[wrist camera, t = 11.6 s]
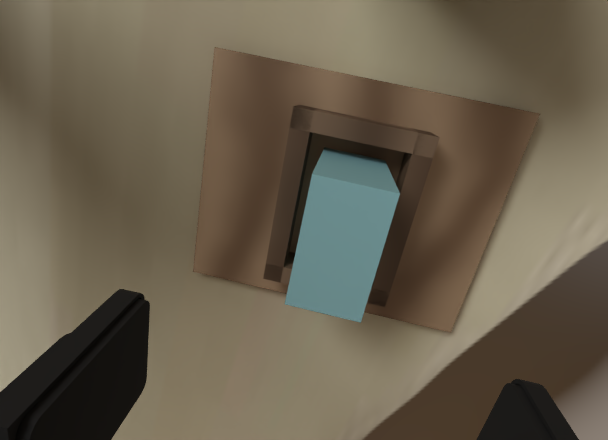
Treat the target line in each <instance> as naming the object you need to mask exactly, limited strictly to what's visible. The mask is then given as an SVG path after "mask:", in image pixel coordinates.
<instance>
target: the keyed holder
mask: <svg viewBox="0 0 608 440" xmlns="http://www.w3.org/2000/svg"><path fill="white" fill-rule="evenodd" d="M539 116H540V114H538V113H533V112H529V111H524V110H519V109H514V108H509V107H504V106H499V105H494V104H490V103H485V102H480V101H475V100H470V99H465V98H460V97H455V96H451V95H446V94H441V93H436V92H431V91H426V90H421V89H416V88H412V87H407V86H402V85H397V84H392V83H387V82H382V81H377V80H373V79H368V78H363V77H358V76H353V75H348V74H343V73H338V72H333V71H329V70H324V69H319V68H314V67H309V66H304V65H299V64H294V63H290V62H285V61H280V60H275V59H270V58H265V57H260V56H255V55H251V54H246V53H241V52H236V51H231V50H226V49H221V48H216V47H215V49H214V60H213V70H212V81H211V91H210V102H209V112H208V123H207V133H206V143H205V154H204V164H203V175H202V185H201V196H200V206H199V217H198V227H197V238H196V248H195V259H194V269H193V272H198V273H202V274H206V275H210V276H215V277H219V278H223V279H227V280H231V281H236V282H240V283H244V284H248V285H253V286H257V287H261V288H265V289H269V290H274V291H278V292H282V293H286V294H287V291H288V286H289V281H290V277H291V272H292V267H293V262H294V258H295V253H296V248H297V243H298V239H299V234H300V229H301V224H302V220H303V215H304V210H305V205H306V201H307V196H308V191H309V186H310V182H311V177H312V173H313V171H314V169H315V167H316V165H317V162H318V160H319V158H320V156H321V154H322V152H323V150H324V147H326V148H331V149H335V150H340V151H345V152H349V153H354V154H358V155H363V156H367V157H372V158H376V159H381V160H385V161H386V164H387V166H388V168H389V170H390V172H391V175H392V177H393V179H394V181H395V184H396V186H397V188H398V190H399V192H400V196H399V199H398V202H397V205H396V209H395V212H394V215H393V219H392V222H391V225H390V228H389V232H388V235H387V238H386V242H385V245H384V248H383V251H382V255H381V258H380V261H379V264H378V268H377V271H376V274H375V278H374V281H373V284H372V287H371V291H370V294H369V297H368V301H367V304H366V307H365V310H364V312H367V313H371V314H375V315H379V316H383V317H388V318H392V319H396V320H400V321H405V322H409V323H413V324H417V325H421V326H426V327H430V328H434V329H438V330H443V331H447V332H451V331H452V328H453V326H454V323H455V321H456V318H457V316H458V313H459V311H460V309H461V306H462V304H463V301H464V299H465V296H466V294H467V291H468V289H469V287H470V284H471V282H472V279H473V277H474V274H475V272H476V269H477V267H478V265H479V262H480V260H481V257H482V255H483V252H484V250H485V247H486V245H487V243H488V240H489V238H490V235H491V233H492V230H493V228H494V225H495V223H496V221H497V218H498V216H499V213H500V211H501V208H502V206H503V203H504V201H505V199H506V196H507V194H508V191H509V189H510V186H511V184H512V181H513V179H514V177H515V174H516V172H517V169H518V167H519V164H520V162H521V159H522V157H523V155H524V152H525V150H526V147H527V145H528V142H529V140H530V138H531V135H532V133H533V130H534V128H535V125H536V123H537V120H538V118H539Z"/></svg>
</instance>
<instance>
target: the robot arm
mask: <svg viewBox="0 0 608 440" xmlns="http://www.w3.org/2000/svg"><path fill="white" fill-rule="evenodd" d="M149 311H150V303H149V301H146V300H144V295H143V294H141V293H137V292H132V291H128V290H124V289H119V290H118V291H116V292H115V293H114V294H113V295H112V296H111V297H110V298H109V299H108V300H107V301H105V302H104V303H103V304H102V305H101V306H100V307H99V308H98V309H97V310H96V311H95V312H93V313H92V314H91V315H90V316H89V317H88V318H87V319H86V320H85V321H84V322H82V323H81V324H80V325H79V326H78V327H77V328H76V329H75V330H74V331H73V332H72V333H69V334H66V335H65V336H63V337H62V338H60V339H59V340H58V341H57V342H56V343H55V344H54V345H52V346H51V347H50V348H49V349H48V350H47V351H46V352H45V353H44V354H42V355H41V356H40V357H39V358H38V359H37V360H36V361H35V362H33V363H32V364H31V365H30V366H29V367H28V368H27V369H26V370H25V371H23V372H22V373H21V374H20V375H19V376H18V377H17V378H16V379H15V380H13V381H12V382H11V383H10V384H9V385H8V386H7V387H6V388H5V389H3V390H2V391H1V392H0V440H111V439H112V437H113V436H114V434H115V433H116V431H117V430H118V428H119V427H120V425H121V424H122V422H123V421H124V419H125V417H126V416H127V414H128V413H129V411H130V410H131V408H132V407H133V405H134V404H135V402H136V401H137V399H138V398H139V396H140V395H141V393H142V391H143V389H144V386H145V383H146V378H147V356H148V334H149ZM477 440H579V439H578V438H577V436H576V435H575V433H574V432H573V430H572V429H571V427H570V425H569V424H568V422H567V421H566V419H565V418H564V416H563V415H562V413H561V412H560V410H559V409H558V407H557V406H556V404H555V403H554V401H553V400H552V398H551V396H550V395H549V393H548V392H547V390H546V389H545V388H544V387H543V386H542V385H540V384H537V383H533V382H529V381H524V380H520V379H515V380H513V381H512V382H511V384H510V383H507V384H506V385H505V386H504V387H503V390H502V391H501V393H500V395H499V397H498V399H497V401H496V403H495V405H494V407H493V409H492V411H491V413H490V415H489V417H488V419H487V421H486V423H485V424H484V427H483V428H482V430H481V432H480V434H479V436H478V438H477Z"/></svg>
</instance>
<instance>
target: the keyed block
mask: <svg viewBox="0 0 608 440" xmlns="http://www.w3.org/2000/svg"><path fill="white" fill-rule="evenodd" d="M399 196H400V192H399V190H398V188H397V186H396V184H395V181H394V179H393V177H392V175H391V172H390V170H389V168H388V166H387V164H386V161H385V160H381V159H376V158H372V157H367V156H363V155H358V154H354V153H349V152H345V151H340V150H335V149H331V148H326V147H324V150H323V152H322V154H321V156H320V158H319V160H318V162H317V165H316V167H315V169H314V171H313V173H312V177H311V182H310V186H309V191H308V196H307V201H306V205H305V210H304V215H303V220H302V224H301V229H300V234H299V239H298V243H297V248H296V253H295V258H294V262H293V267H292V272H291V277H290V281H289V286H288V291H287V296H286V300H285V304H286V305H290V306H294V307H298V308H303V309H307V310H311V311H315V312H319V313H323V314H327V315H331V316H335V317H340V318H344V319H348V320H352V321H356V322H360V323H361V320H362V317H363V314H364V310H365V307H366V304H367V301H368V297H369V294H370V291H371V287H372V284H373V281H374V278H375V274H376V271H377V268H378V264H379V261H380V258H381V255H382V251H383V248H384V245H385V242H386V238H387V235H388V232H389V228H390V225H391V222H392V219H393V215H394V212H395V209H396V205H397V202H398V199H399Z"/></svg>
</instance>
